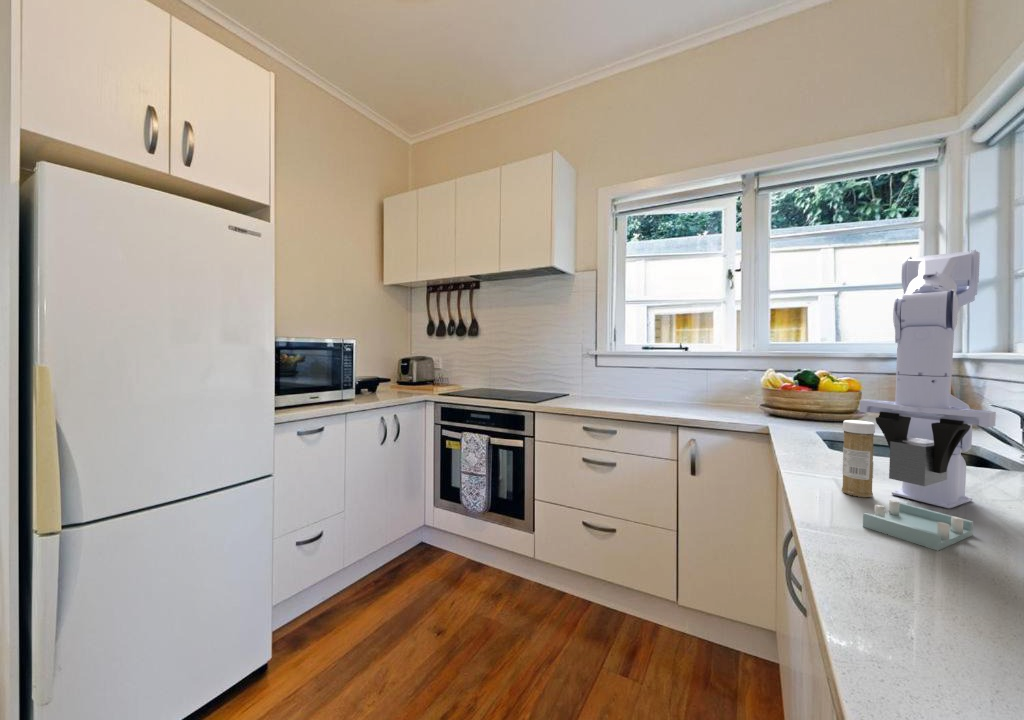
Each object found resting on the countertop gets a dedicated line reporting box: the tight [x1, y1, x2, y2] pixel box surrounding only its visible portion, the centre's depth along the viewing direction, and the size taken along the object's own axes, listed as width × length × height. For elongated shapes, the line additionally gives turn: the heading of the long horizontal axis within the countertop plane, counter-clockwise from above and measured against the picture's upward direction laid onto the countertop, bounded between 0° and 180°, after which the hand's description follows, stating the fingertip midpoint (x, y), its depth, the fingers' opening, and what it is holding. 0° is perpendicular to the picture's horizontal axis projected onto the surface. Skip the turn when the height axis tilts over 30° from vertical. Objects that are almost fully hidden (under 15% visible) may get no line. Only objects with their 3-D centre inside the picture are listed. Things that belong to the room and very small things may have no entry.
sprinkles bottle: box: [841, 419, 876, 498], centre depth 79 cm, size 5×5×13 cm
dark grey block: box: [888, 437, 947, 486], centre depth 63 cm, size 7×4×6 cm, turn 116°
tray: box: [862, 499, 974, 552], centre depth 63 cm, size 11×8×3 cm
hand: (918, 467), depth 63 cm, fingers closed on dark grey block, 4 cm apart
